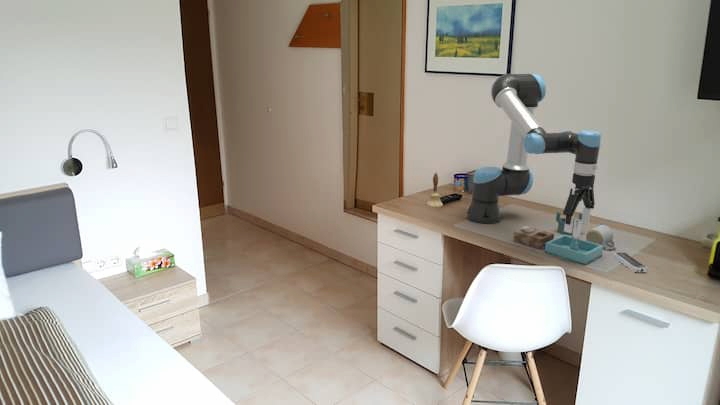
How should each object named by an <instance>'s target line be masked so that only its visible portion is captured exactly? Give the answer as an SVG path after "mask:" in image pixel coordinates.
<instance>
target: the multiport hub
mask: <svg viewBox="0 0 720 405" xmlns="http://www.w3.org/2000/svg"><path fill="white" fill-rule="evenodd" d="M614 257H615V258H616V259H617V260H616V259H615V258H614ZM613 258H614V259H615V260H616V261H618V260H619V261H620V262H621V264H622V263H623V264H624V265H625V267H626V266H627V267H628V268H627V267H626V268H627V269H629V268H630V269H631V270H632V272H633V271H634V272H646V273H647V271H648V267H647V266H645V265H644V264H642V263H641V262H639V261H638V260H637V259H636V258H634V257H633V256H631V255H629V254H628V253H627V252H614V255H613ZM619 261H618V262H619ZM620 262H619V263H620ZM623 264H622V265H623ZM624 265H623V266H624ZM630 269H629V270H630ZM631 270H630V271H631ZM634 272H633V273H634Z"/></svg>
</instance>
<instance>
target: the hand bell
mask: <svg viewBox="0 0 720 405" xmlns="http://www.w3.org/2000/svg"><path fill="white" fill-rule="evenodd" d="M432 182H433V183H432V184H433V192H432V193H430V196H429V199H428V201H427V202H426V204H425V205H426V206H428V207H432V208H439V207H443V206H444V204H443V202H442V201H441V197H440V196H441V195H440V194H439V193H438V183H439V176H438V173H437V172H435V173H434V174H433V178H432Z"/></svg>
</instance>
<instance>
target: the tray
mask: <svg viewBox="0 0 720 405" xmlns="http://www.w3.org/2000/svg"><path fill="white" fill-rule="evenodd" d="M571 238H572V236H571V235H565V234H561V235H560V236H558V237H556V238H555V237H554V239H553V240H551V241H549V242H546V246H545V247H544V253H545V254H548V255H552V256H555V257H558V258H562V259H564V260H567V261H570V262H574V263H577V264H580V265H583V266H585V265H588V264H590V263H591V262H593V261H595V260H597V259H598V258H600V257H602V256H603V253H604V252H603V251H604V247H603V245H599V244H596V243H592V242H588V241H587V240H585V239H581V238H580V239H579V245H578V251H576V250H572V249H570V245H571ZM596 258H597V259H596ZM594 259H595V260H594ZM589 262H590V263H589Z"/></svg>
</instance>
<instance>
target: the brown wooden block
mask: <svg viewBox="0 0 720 405" xmlns="http://www.w3.org/2000/svg"><path fill="white" fill-rule="evenodd" d="M553 239H555V233H553V232H550V231H546V230H542V229H539V228H535V227H532V226H526V225H525V226H522V227H521V228H520V229H517V230H515V231H514V232H513V239H512V241H514V242H516V243H519V244H523V245H526V246H529V247H533V248H535V249H539V250H541V249H543V248H544V249H545V246H546V242H549V241H551V240H553Z"/></svg>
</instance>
